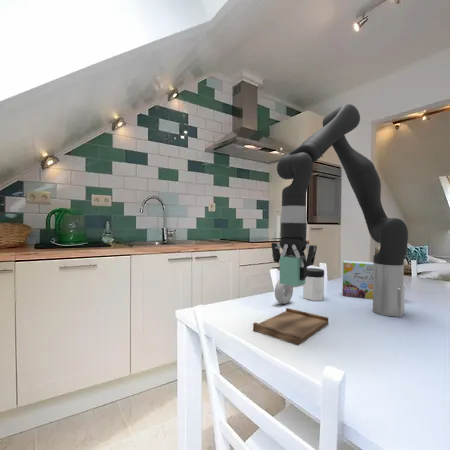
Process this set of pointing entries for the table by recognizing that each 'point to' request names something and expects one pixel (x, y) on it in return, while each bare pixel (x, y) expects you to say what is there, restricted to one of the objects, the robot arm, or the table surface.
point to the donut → (283, 292)
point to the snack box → (358, 279)
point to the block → (290, 271)
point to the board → (292, 326)
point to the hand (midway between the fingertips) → (292, 278)
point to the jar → (314, 285)
